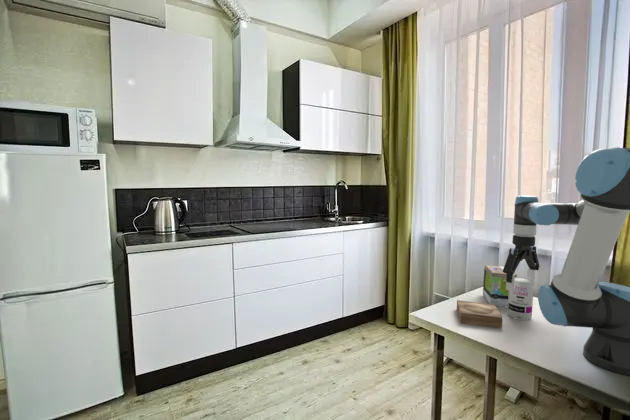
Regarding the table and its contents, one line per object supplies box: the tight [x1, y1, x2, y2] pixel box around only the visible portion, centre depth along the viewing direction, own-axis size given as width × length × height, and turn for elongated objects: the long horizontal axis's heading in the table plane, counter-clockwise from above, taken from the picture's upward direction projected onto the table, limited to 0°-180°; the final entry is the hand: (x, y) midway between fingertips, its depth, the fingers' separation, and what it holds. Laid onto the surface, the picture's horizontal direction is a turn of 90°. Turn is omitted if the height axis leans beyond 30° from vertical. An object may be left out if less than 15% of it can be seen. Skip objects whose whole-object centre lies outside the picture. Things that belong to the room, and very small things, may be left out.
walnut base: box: [456, 299, 504, 329], centre depth 129 cm, size 14×14×4 cm
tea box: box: [482, 264, 518, 308], centre depth 147 cm, size 15×10×15 cm
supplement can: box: [506, 277, 535, 321], centre depth 130 cm, size 8×8×15 cm
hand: (520, 287), depth 130 cm, fingers open, 13 cm apart
